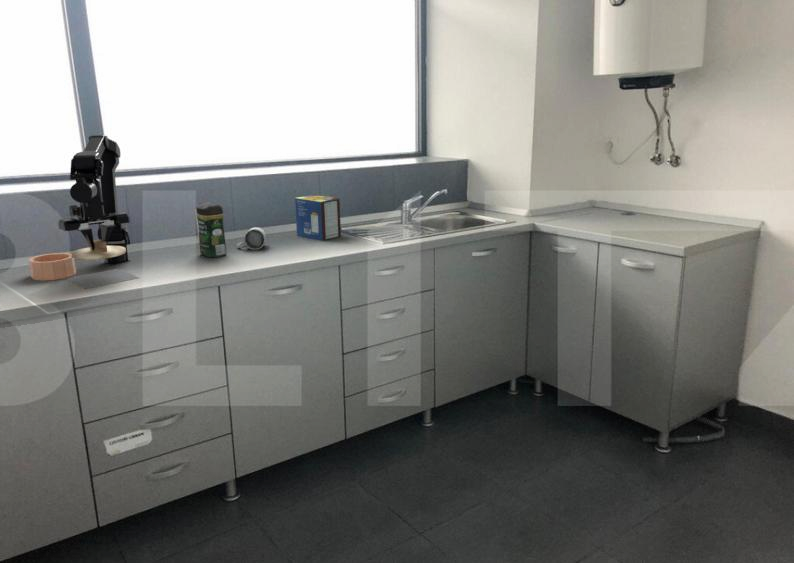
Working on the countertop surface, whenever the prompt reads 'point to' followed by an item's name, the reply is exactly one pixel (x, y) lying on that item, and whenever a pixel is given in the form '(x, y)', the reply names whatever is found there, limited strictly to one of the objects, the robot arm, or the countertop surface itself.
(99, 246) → the lid
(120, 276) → the mat
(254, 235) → the ceramic mug
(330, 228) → the protein box
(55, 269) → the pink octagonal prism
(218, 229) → the coffee jar
